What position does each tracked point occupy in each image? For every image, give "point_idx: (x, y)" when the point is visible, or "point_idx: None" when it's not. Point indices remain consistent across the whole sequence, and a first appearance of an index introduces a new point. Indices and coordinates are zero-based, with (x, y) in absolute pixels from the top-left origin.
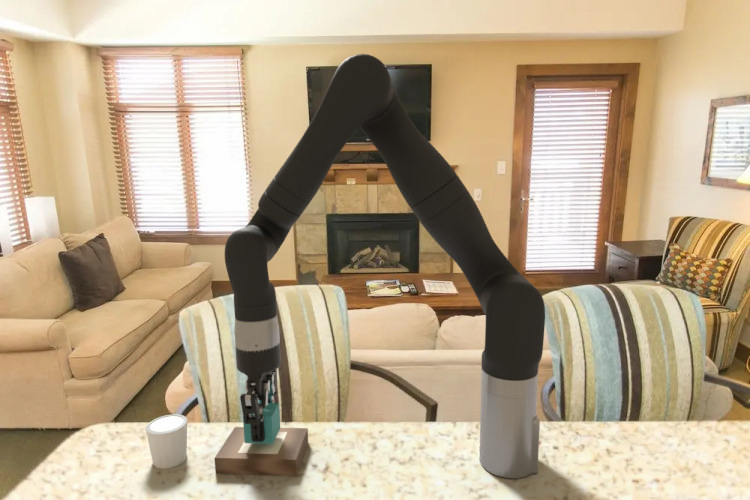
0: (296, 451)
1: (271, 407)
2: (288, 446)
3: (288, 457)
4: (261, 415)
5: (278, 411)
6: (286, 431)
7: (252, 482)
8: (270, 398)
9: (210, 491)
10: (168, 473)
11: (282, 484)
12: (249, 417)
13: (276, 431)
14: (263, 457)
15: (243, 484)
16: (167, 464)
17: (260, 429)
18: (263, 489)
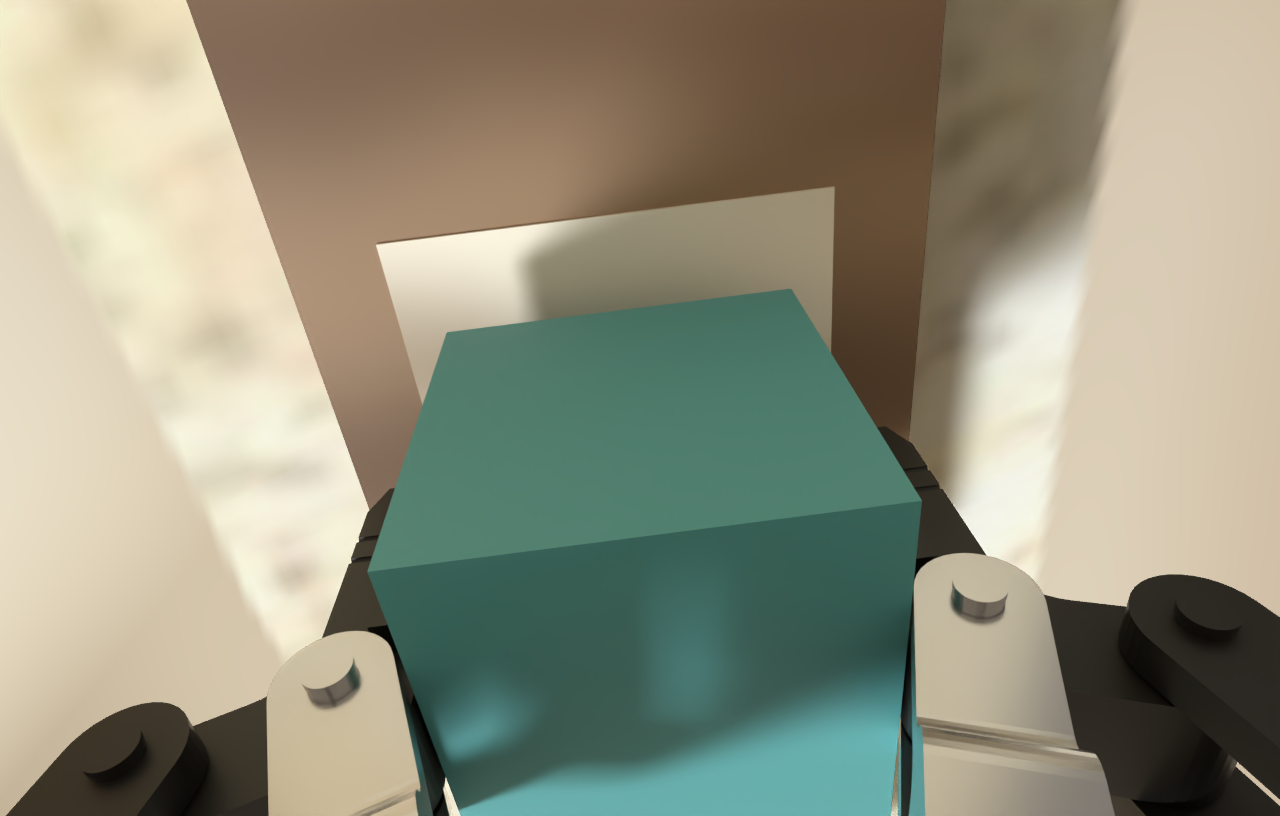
0: None
1: (573, 618)
2: (675, 113)
3: (900, 26)
4: (1048, 660)
5: (458, 474)
6: (367, 259)
7: (952, 292)
8: (418, 765)
9: (1027, 508)
10: None
11: (999, 18)
12: (1220, 788)
13: (624, 335)
14: (893, 306)
15: (972, 346)
16: None
17: (928, 511)
18: (1050, 168)
